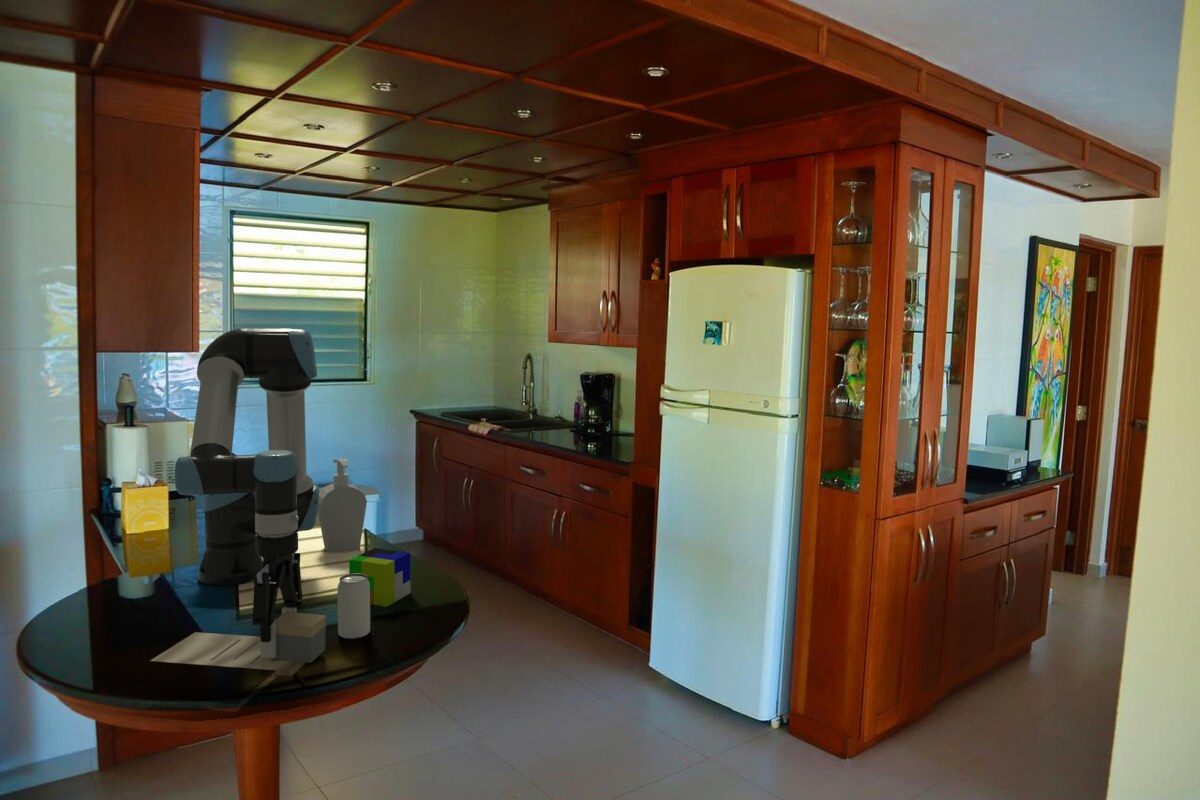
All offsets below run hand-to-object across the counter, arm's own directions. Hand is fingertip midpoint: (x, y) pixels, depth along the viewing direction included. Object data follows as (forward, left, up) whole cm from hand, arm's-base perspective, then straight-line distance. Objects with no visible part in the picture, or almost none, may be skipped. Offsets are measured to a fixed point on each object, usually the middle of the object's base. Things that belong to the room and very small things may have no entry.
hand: (279, 647), depth 157 cm
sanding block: (+4, 0, -1) cm, 4 cm away
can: (+9, +14, -2) cm, 17 cm away
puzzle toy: (+6, +36, -2) cm, 37 cm away
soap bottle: (-19, +71, -2) cm, 74 cm away
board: (-8, 0, -2) cm, 8 cm away
